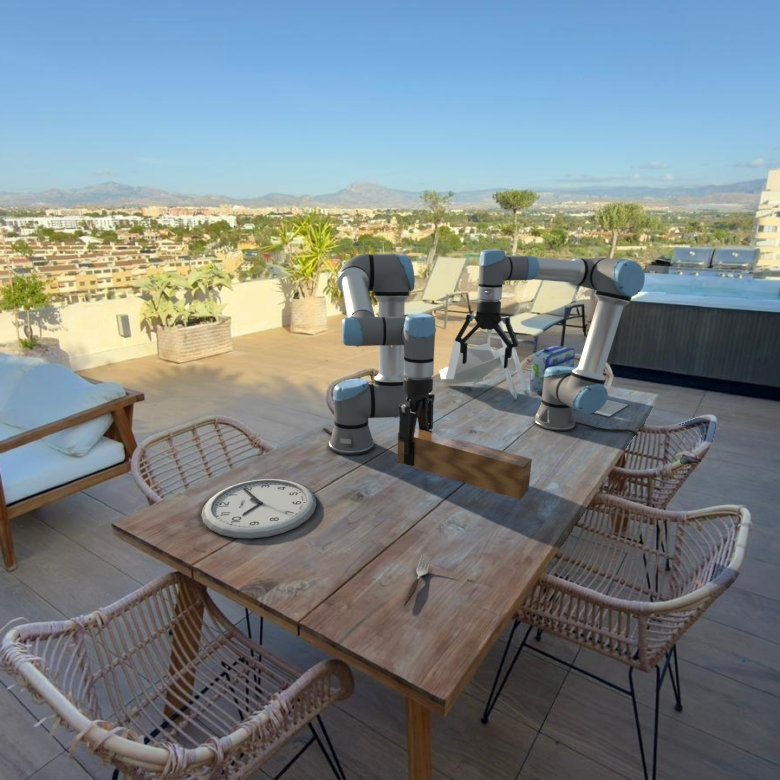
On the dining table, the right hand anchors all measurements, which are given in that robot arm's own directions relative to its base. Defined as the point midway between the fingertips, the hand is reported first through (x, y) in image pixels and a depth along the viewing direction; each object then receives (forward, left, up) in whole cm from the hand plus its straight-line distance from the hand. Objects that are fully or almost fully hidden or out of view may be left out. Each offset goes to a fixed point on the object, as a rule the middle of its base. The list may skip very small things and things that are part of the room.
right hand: (484, 365), depth 172 cm
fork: (+16, +75, -30) cm, 82 cm away
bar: (+8, +48, -17) cm, 52 cm away
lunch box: (-37, -74, -30) cm, 88 cm away
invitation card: (-55, -54, -30) cm, 83 cm away
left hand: (+19, +42, -16) cm, 49 cm away
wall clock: (+60, +49, -30) cm, 83 cm away
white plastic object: (-3, -66, -30) cm, 73 cm away
